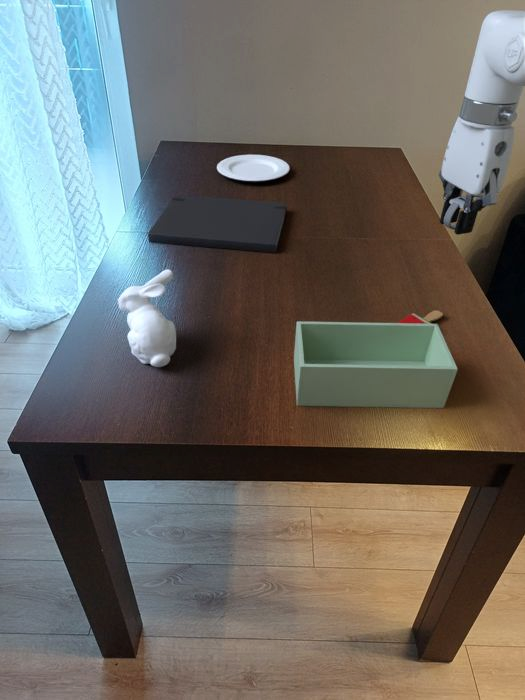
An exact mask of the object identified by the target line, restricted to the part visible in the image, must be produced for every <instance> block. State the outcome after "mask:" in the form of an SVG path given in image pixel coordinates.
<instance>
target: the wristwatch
mask: <svg viewBox="0 0 525 700" xmlns="http://www.w3.org/2000/svg"><path fill="white" fill-rule="evenodd" d="M465 198H466V195H461V196H460V197H458V198H455V199H452V200H450V204H451V205H450V207H449V208H448V210H447V212H446V214H445V217H444V224H443V225H444V226H445V227H446V228H448V229H450V230H454V231H455V227H456V224H457V222H455V223H453V224H452V223H451V219H452V216H453V214H454V212H455V211H456V209H457V208H458V207H460V209H464V204H465ZM474 201H476V199H473V202H474Z"/></svg>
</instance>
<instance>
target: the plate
mask: <svg viewBox="0 0 525 700" xmlns="http://www.w3.org/2000/svg"><path fill="white" fill-rule="evenodd" d="M290 169H291V168H290V165H289V164H288V163H287V162H286V161H285V160H283V159H282V158H278V157H275V156H269V155H264V154H239V155H234V156H230V157H227V158H225V159H223V160H221V161H220V162H218V163H217V165H216V170H217V172H218V173H219V174H220V175H221V176H223V177H225V178H228V179H231V180H234V181H238V182H241V183H242V182H243V183H255V184H257V183H265V182H271V181H274V180H278V179H281V178H283V177H286V176H287V175H288V173H289V172H290Z"/></svg>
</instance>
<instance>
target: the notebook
mask: <svg viewBox="0 0 525 700" xmlns="http://www.w3.org/2000/svg"><path fill="white" fill-rule="evenodd" d="M286 215H287V203H285V202H278V201H266V200H251V199H241V198H240V199H239V198H225V197H213V196H203V195H202V196H201V195H200V196H199V195H188V194H176V195H174V196H173V197H172V198H171V200H170V202H169V203H168V204H167V206H166V207H165V209H164V210H163V211H162V213H161V214H160V215H159V217H158V219H157V220H156V221H155V223H154V224H153V225H152V227H151V228H150V230H149V231H148V233H147V236H148V242H149V243H157V244H166V245H167V244H169V245H180V246H189V247H190V246H192V247H201V248H202V247H203V248H213V249H224V250H235V251H236V250H238V251H248V252H249V251H250V252H260V253H270V254H276V252H277V250H278V246H279V243H280V238H281V234H282V230H283V226H284V222H285V220H286V219H285V218H286Z"/></svg>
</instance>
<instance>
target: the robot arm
mask: <svg viewBox="0 0 525 700" xmlns="http://www.w3.org/2000/svg"><path fill="white" fill-rule="evenodd" d="M478 35H479V36H478V38H477V44H476V48H475V50H474V55H473V58H472V59H473V60H472V63H471V69H470V71H469V76H468V79H467V84H466V88H465V91H464V96H463V100H462V104H461V109H460V111H459V116H457V119H456V121H455V123H454V126H453V128H452V131H451V134H450V137H449V140H448V143H447V145H446V149H445V153H444V156H443V161H442V164H441V165H442V166H441V170H439V172H438V177H439V179H440V182H441V183H442V188H443V195H442V198H443V201H444V202H443V206H442V209H441V214H440V218H439V224H440V225H444V217H445V214H446V212H447V210H448V208H449V207H450V205H451V204H450V200H452V199H455V198H458V197H460V196H463V193H464V192H465V197H466V198H465V204H464V208H463V210H461V208H460V207H458V208H457V209H456V211H455V212H454V214H453V216H452V219H451V224H456V223H457V224H456V227H455V230H454V234H455V235H457V236H458V235H465V234H469V233H472V232H473V230H474V226H475V223H476V220H477V216H478V214H479V212H482V210H483V209H485V208H487V207H489V206H494V205H497V204H498V202H499V197H498V194H499V193H501V191H502V188H503V186H504V183H505V179H506V176H507V173H508V170H509V169H508V168H509V165H510V160H511V157H512V151H513V147H514V146H513V145H514V138H515V127H514V126H512V125H513V122H515V121H516V120H517V118H518V113H517V112H516V111H517V109H518V106H519V103H520V99H521V95H522V93H523V91H524V90H523V89H524V87H525V10H515V9H501V10H494V11H492V12H490V13H488V14H487V15H486V16H485V17H484V19H483V21H482V24H481V27H480V31H479V34H478ZM474 198H476V199H475V201H474V202H473V200H474Z"/></svg>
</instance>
